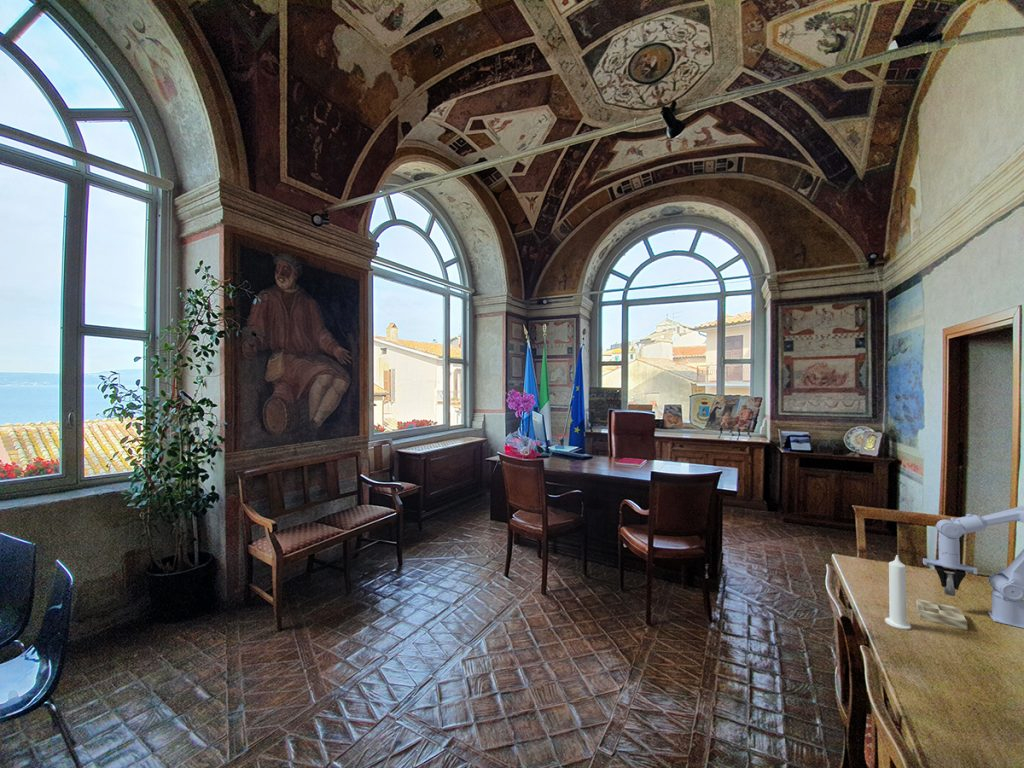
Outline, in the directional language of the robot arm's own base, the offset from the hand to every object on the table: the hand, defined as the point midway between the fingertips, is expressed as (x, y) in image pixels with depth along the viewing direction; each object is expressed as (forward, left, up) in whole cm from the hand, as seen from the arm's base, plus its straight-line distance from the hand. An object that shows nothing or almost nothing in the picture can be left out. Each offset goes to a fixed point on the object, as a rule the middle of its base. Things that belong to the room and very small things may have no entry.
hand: (949, 587), depth 163 cm
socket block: (+4, +10, -9) cm, 14 cm away
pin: (0, 0, -3) cm, 3 cm away
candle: (+17, +26, -9) cm, 32 cm away
